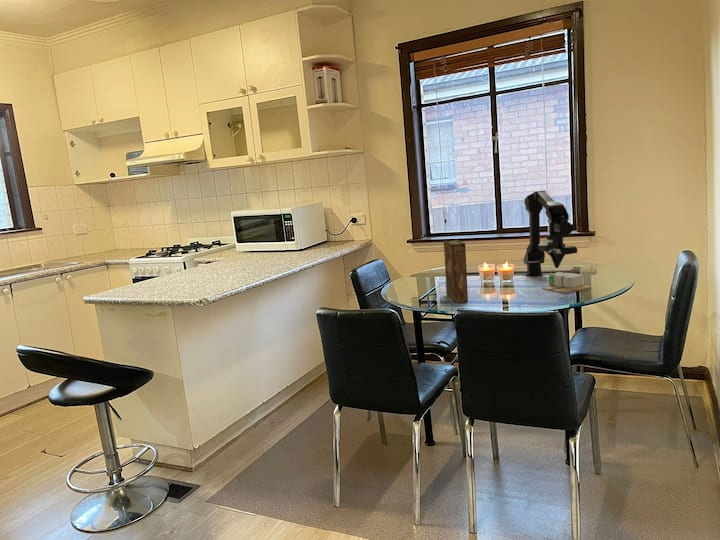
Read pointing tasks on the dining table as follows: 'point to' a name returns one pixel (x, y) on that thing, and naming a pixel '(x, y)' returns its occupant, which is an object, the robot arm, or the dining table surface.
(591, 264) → the dining table surface
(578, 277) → the ink box
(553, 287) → the cork trivet
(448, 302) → the dining table surface
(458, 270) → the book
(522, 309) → the dining table surface
